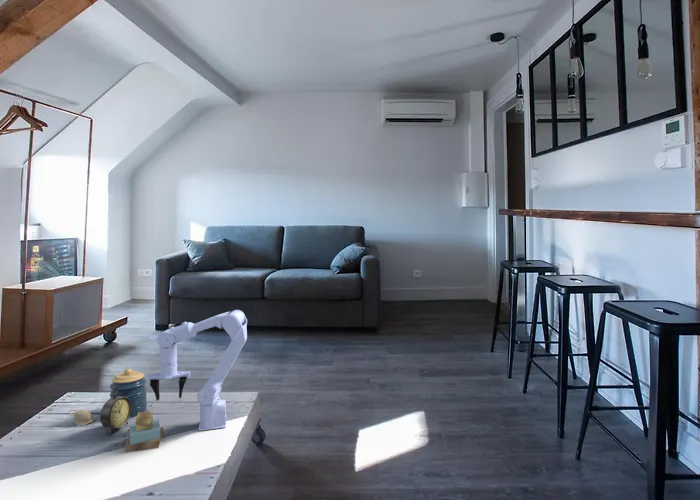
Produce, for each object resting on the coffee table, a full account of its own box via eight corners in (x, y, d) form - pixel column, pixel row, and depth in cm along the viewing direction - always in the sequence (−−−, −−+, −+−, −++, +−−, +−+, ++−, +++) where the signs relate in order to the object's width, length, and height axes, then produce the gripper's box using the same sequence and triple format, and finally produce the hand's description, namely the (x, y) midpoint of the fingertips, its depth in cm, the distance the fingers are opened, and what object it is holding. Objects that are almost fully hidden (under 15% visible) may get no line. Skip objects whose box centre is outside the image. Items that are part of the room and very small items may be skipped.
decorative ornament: (88, 425, 152) (88, 411, 152) (67, 425, 152) (66, 411, 152) (96, 420, 156) (95, 407, 156) (74, 420, 156) (74, 406, 156)
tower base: (163, 435, 146) (163, 426, 146) (158, 449, 136) (158, 440, 136) (132, 439, 143) (132, 430, 143) (125, 454, 134) (125, 445, 133)
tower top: (158, 427, 146) (158, 418, 146) (160, 438, 138) (160, 429, 138) (130, 432, 142) (130, 424, 141) (130, 444, 134) (129, 435, 133)
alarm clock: (110, 437, 143) (109, 392, 142) (97, 436, 144) (96, 391, 143) (133, 423, 154) (132, 381, 153) (120, 422, 155) (119, 380, 154)
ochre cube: (152, 422, 142) (152, 410, 142) (150, 428, 138) (150, 416, 138) (138, 424, 141) (138, 412, 141) (136, 430, 137) (135, 418, 136)
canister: (145, 402, 172) (144, 361, 172) (148, 414, 161) (147, 370, 160) (110, 409, 166) (108, 366, 165) (110, 422, 155) (109, 376, 154)
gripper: (144, 367, 145) (145, 404, 146) (188, 363, 149) (189, 400, 150) (148, 361, 152) (149, 397, 152) (190, 358, 156) (190, 392, 156)
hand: (169, 398), depth 151 cm, fingers open, 7 cm apart
